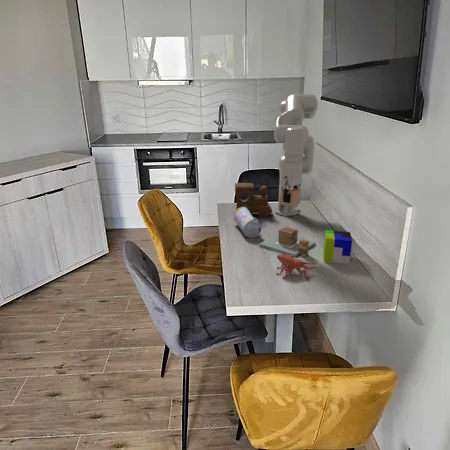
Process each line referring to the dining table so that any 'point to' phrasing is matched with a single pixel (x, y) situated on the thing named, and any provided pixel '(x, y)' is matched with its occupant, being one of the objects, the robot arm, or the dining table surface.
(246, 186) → the wooden toy train
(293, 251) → the board
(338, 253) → the puzzle toy
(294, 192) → the terracotta block
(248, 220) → the pencil case
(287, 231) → the walnut block
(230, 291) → the dining table surface
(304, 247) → the tower
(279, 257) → the beetle
